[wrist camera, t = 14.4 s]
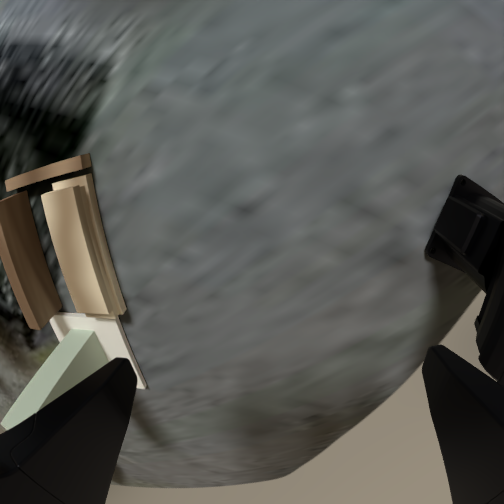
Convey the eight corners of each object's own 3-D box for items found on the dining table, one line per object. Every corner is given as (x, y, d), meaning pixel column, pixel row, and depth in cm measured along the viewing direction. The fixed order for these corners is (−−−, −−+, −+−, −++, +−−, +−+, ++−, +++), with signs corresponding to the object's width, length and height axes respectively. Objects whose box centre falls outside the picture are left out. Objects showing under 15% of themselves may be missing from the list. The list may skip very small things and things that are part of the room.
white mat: (117, 315, 24) (114, 319, 24) (146, 385, 28) (145, 389, 27) (49, 311, 25) (46, 314, 25) (81, 374, 29) (79, 378, 28)
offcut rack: (89, 153, 19) (55, 162, 15) (127, 309, 24) (107, 338, 20) (13, 177, 20) (-18, 189, 16) (52, 305, 25) (30, 328, 21)
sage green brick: (94, 330, 24) (22, 435, 13) (116, 375, 27) (64, 476, 15) (71, 328, 25) (0, 423, 13) (94, 372, 27) (41, 464, 15)
